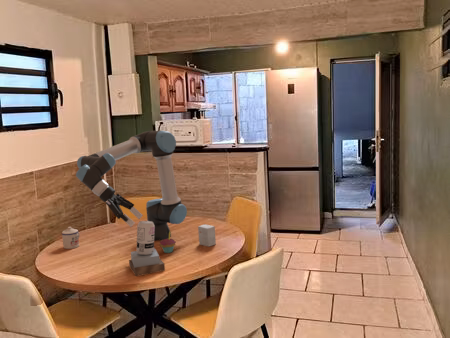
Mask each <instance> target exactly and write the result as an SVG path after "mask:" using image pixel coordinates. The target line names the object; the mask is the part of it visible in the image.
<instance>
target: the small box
mask: <svg viewBox="0 0 450 338" xmlns="http://www.w3.org/2000/svg"><path fill="white" fill-rule="evenodd" d="M197 229H198V232H197V234H198V243H199V245H201V246H204V247H212V246H215V245H216V244H217V242H216V227H215V226H214V225H211V224H210V225H209V224H201V225H198V226H197Z"/></svg>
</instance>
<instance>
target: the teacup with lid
mask: <svg viewBox="0 0 450 338" xmlns="http://www.w3.org/2000/svg"><path fill="white" fill-rule="evenodd" d="M61 236H62V237H61V238H62V246H63V249H67V250H69V249H70V250H71V249H76V248H78V247H80V240H79V239H80V232H79V230H78V229H76V228H73V227H72V226H68V227H67V228H66V229H64V230H63V231H62V232H61Z"/></svg>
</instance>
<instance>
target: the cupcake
mask: <svg viewBox="0 0 450 338" xmlns="http://www.w3.org/2000/svg"><path fill="white" fill-rule="evenodd" d="M170 232H171V231H170ZM170 232H169V238H168V239H163V240H160V242H159V247H161V248H162V251H163V253H165V254H170V253H172V252H173V251H174V248H175V246H176V241H175V239H173V238H171V237H170Z"/></svg>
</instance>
